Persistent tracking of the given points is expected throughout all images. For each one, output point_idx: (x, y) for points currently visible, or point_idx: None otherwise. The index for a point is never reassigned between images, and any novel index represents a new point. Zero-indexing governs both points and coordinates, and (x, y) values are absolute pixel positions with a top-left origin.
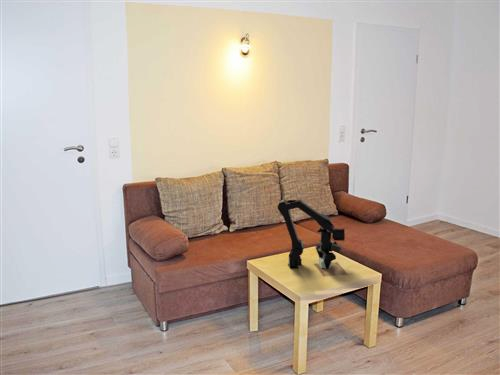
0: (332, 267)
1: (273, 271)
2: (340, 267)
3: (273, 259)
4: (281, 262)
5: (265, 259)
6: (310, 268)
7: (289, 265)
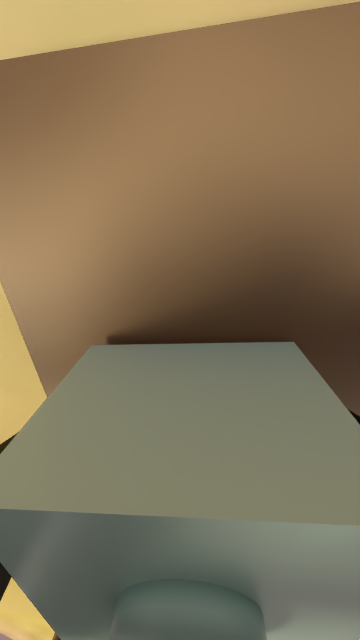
0: (263, 304)
1: None
2: (322, 78)
3: (4, 607)
4: None
5: (15, 625)
6: None
7: None
